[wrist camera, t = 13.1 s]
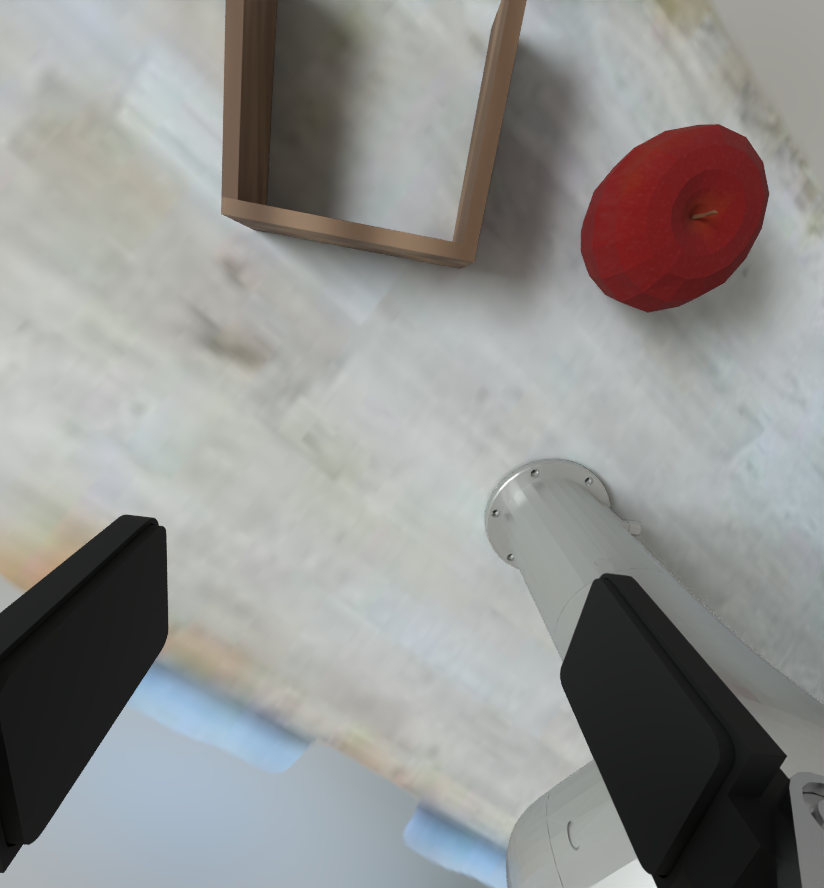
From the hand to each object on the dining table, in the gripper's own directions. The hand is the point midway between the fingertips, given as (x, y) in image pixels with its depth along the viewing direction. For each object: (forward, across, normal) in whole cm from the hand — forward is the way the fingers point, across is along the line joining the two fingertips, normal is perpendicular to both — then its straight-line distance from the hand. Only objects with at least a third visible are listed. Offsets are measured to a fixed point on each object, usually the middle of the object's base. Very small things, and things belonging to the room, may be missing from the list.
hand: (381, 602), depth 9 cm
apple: (+31, -17, -14) cm, 38 cm away
